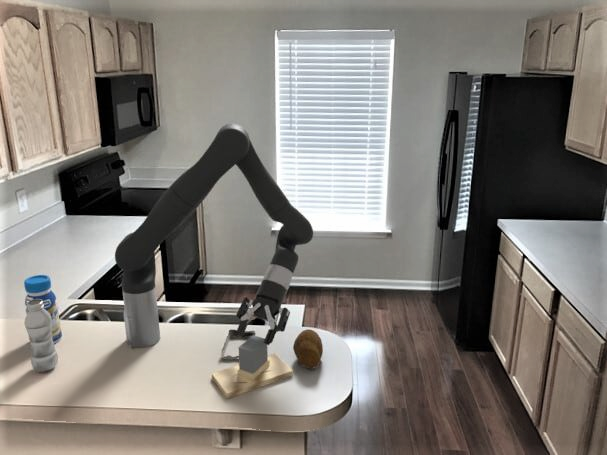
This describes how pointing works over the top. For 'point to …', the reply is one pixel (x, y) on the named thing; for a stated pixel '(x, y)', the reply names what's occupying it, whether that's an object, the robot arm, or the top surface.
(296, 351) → the potato
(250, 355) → the sanding block
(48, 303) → the beverage bottle
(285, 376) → the pine board
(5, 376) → the top surface
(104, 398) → the top surface
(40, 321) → the plastic bottle
